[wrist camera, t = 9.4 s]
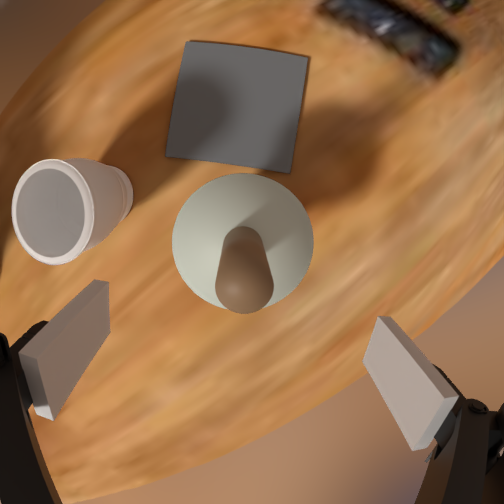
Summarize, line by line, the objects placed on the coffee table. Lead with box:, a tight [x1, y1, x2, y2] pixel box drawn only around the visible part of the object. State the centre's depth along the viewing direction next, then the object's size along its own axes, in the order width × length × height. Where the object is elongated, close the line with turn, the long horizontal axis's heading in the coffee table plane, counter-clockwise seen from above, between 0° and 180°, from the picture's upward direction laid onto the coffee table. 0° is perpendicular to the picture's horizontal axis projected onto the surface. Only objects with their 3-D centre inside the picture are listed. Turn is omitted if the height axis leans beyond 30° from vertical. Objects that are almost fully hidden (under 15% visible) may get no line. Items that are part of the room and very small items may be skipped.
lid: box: [172, 173, 313, 314], centre depth 25 cm, size 13×13×11 cm
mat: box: [165, 42, 308, 174], centre depth 37 cm, size 16×16×1 cm
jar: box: [12, 158, 133, 265], centre depth 33 cm, size 11×10×15 cm
